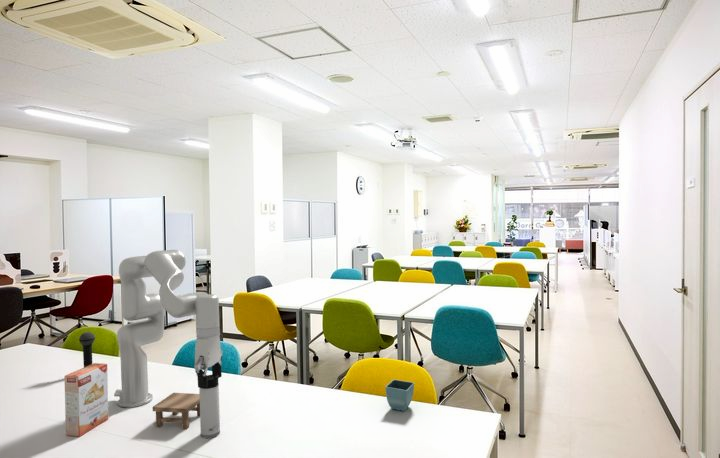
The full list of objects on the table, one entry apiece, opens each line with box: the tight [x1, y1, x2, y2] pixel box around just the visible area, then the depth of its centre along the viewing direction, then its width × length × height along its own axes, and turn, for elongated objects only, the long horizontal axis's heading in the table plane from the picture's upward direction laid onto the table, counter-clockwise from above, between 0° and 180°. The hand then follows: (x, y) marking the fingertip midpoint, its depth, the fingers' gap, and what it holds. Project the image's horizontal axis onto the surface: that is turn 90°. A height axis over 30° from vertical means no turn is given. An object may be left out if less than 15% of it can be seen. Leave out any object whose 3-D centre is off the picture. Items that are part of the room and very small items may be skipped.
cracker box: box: [64, 362, 109, 437], centre depth 163 cm, size 14×6×21 cm, turn 170°
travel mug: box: [198, 374, 221, 439], centre depth 156 cm, size 6×7×20 cm
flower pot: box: [385, 379, 415, 412], centre depth 175 cm, size 9×9×9 cm
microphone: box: [78, 331, 96, 368], centre depth 219 cm, size 7×7×20 cm
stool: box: [152, 392, 200, 430], centre depth 167 cm, size 13×13×8 cm
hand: (210, 382), depth 156 cm, fingers open, 9 cm apart
